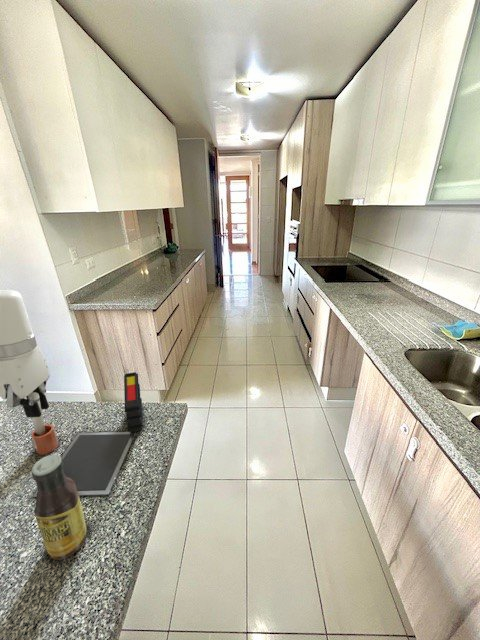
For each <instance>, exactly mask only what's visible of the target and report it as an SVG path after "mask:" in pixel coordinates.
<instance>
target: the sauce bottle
mask: <svg viewBox="0 0 480 640" xmlns="http://www.w3.org/2000/svg"><path fill="white" fill-rule="evenodd" d="M31 477H32V480H33V481H35V484H36V489H37V490H38V492H37V497H35V506H34V516H35V520H36V523H37V525H38V528H39V532H40V535H41V537H42V540H43V544H44V548H45V549H46V553H48V555H49V556H50V558H51V559H53V560H56V561H62V560H63V559H66V558H67V559H68V557H71V556H72V555H74V554H75V553H76V552H77V551H78V550H79V549H80V548H81V547H82V546H83V544H84V542H85V540H86V537H87V523H86V519H85V515H84V509H83V506H82V502H81V498H80V496H79V494H78V492H77V488H76V484H75V482H74V481H73V480H72V479H71V478H68V477H66V475H65V474H64V471H63V461H62V458H61V455H59V454H49V455H46V456H44V457H42V458H40V459H39V460H38V461H36V462H35V463H34V464H33V466H32V468H31Z"/></svg>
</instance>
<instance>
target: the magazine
mask: <svg viewBox="0 0 480 640" xmlns="http://www.w3.org/2000/svg"><path fill="white" fill-rule="evenodd" d="M123 389H124V390H123V391H124V392H123V393H124V396H123V397H124V412H125V413H126V421H127V422H128V423H127V424H128V426H127V429H128V430H130V431H129V432H140V431H142V429H143V426H144V422H143V419H144V418H143V399H142V397H141V385H140V383H139V373H137V372H135V371H134V372H128V373H127V372H126V373H125V374H124V375H123Z"/></svg>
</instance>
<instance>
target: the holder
mask: <svg viewBox="0 0 480 640" xmlns="http://www.w3.org/2000/svg"><path fill="white" fill-rule="evenodd" d="M44 426H45V431H46V434H45V435H43V436H38V437H36V433H35V429H34V430H33V431H32V432H31V441H32V443H33V445H34V449H35V452H36V453H37V454H38V455H47V454H49V453H52V452H53V451H54V450H56V449H57V447H58V446H59V440H58V435H57V433H56V430H55V426H54V425H52V424H50V423H49V424H48V423H47V424H44Z"/></svg>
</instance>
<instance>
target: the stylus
mask: <svg viewBox="0 0 480 640" xmlns="http://www.w3.org/2000/svg"><path fill="white" fill-rule="evenodd" d="M32 395H33V398H34V401H35V402H37V403H38V405H39V408H40V411H41V416H40V417H31V418H32V423H33V428H34V430H35V433H36V437H38V436H43V435H45V434H46V431H45V426H44V425H45V421H44V415H43V409H41V403H40V397H39V394H38V393H36V392H33V393H32Z"/></svg>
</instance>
